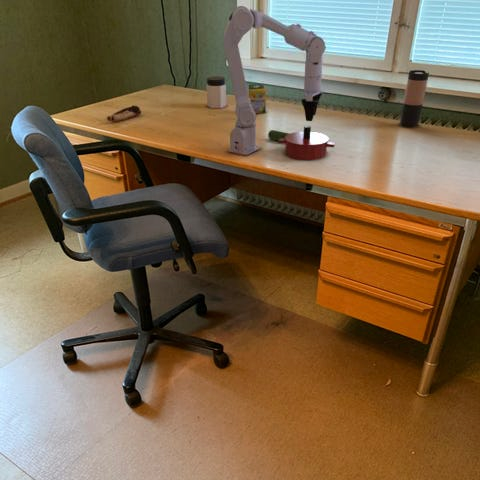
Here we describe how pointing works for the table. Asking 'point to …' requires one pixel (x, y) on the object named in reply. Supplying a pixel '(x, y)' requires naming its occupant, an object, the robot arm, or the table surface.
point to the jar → (216, 92)
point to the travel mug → (413, 98)
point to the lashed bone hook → (125, 114)
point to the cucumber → (277, 135)
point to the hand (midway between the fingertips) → (310, 117)
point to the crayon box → (257, 98)
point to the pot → (306, 150)
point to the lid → (306, 138)
